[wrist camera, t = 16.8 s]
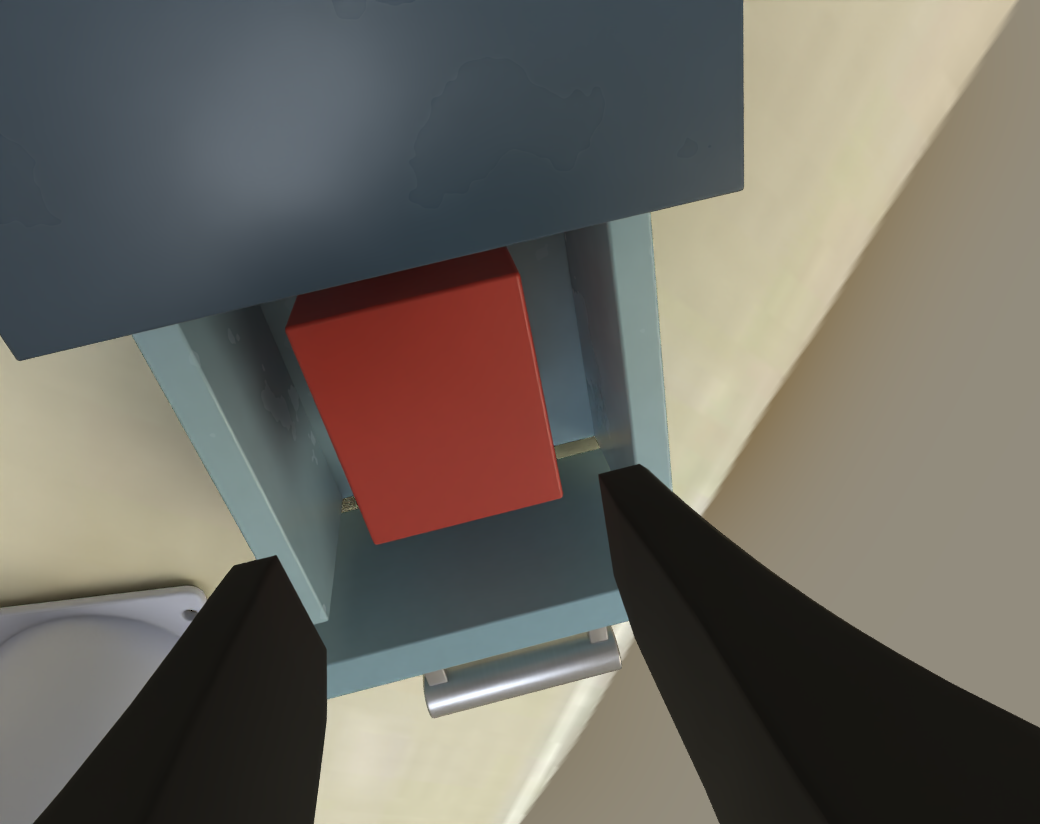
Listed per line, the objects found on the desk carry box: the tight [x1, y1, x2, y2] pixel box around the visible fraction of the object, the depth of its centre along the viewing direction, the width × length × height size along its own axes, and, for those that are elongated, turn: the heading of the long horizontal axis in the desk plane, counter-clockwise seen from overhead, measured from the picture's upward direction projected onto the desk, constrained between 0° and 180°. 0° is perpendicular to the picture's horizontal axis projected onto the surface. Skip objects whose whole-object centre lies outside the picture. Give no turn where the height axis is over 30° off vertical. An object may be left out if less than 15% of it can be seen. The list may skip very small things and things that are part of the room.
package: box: [285, 246, 563, 545], centre depth 15 cm, size 5×4×4 cm
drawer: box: [132, 212, 673, 718], centre depth 17 cm, size 16×10×6 cm, turn 11°
